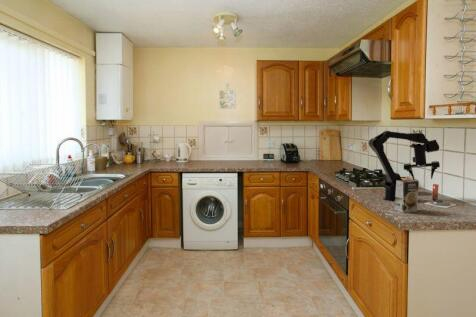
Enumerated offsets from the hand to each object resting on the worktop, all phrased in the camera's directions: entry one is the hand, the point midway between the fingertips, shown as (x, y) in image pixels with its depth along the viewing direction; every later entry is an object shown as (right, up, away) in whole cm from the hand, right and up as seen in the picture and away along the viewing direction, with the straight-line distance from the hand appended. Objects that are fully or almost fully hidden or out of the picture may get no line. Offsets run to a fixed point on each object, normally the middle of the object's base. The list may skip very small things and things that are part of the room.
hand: (422, 179), depth 205 cm
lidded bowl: (0, -10, +20) cm, 22 cm away
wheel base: (+4, -13, -11) cm, 18 cm away
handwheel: (+4, -13, -11) cm, 18 cm away
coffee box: (-22, -15, -25) cm, 36 cm away
